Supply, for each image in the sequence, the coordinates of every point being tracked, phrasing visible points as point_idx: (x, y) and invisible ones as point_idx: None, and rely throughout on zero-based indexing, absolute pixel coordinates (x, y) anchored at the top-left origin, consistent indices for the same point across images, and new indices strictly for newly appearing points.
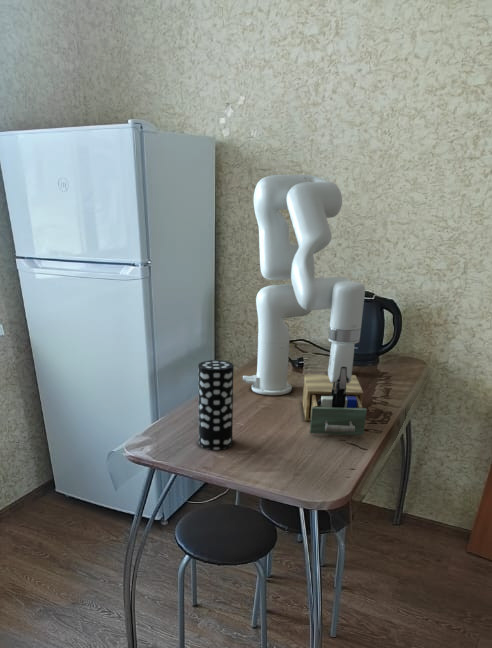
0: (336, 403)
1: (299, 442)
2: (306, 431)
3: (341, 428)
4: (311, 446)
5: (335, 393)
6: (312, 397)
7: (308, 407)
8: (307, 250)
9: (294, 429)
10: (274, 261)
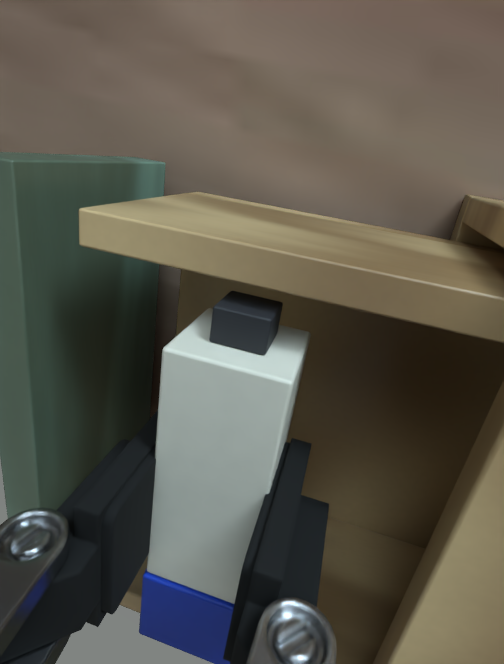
0: (111, 453)
1: (54, 55)
2: (243, 153)
3: None
4: (7, 132)
5: (21, 520)
6: (450, 283)
7: (490, 228)
8: None
9: (292, 52)
10: None
